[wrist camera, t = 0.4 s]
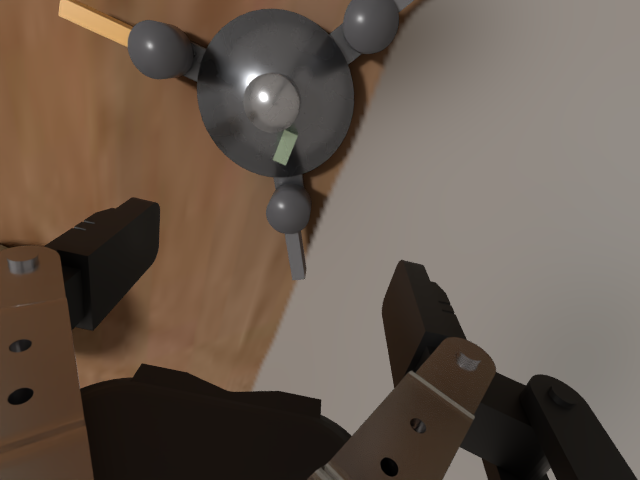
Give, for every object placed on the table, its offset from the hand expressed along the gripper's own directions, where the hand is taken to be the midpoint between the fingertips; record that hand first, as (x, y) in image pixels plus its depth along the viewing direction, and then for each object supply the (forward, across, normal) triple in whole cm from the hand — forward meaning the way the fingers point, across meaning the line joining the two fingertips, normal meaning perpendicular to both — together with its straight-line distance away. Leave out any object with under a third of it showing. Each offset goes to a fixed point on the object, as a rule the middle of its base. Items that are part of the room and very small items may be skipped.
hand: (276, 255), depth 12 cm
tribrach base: (+28, +6, -1) cm, 29 cm away
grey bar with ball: (+27, -4, -11) cm, 29 cm away
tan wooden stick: (+27, +18, -3) cm, 32 cm away
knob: (+26, 0, +12) cm, 29 cm away
